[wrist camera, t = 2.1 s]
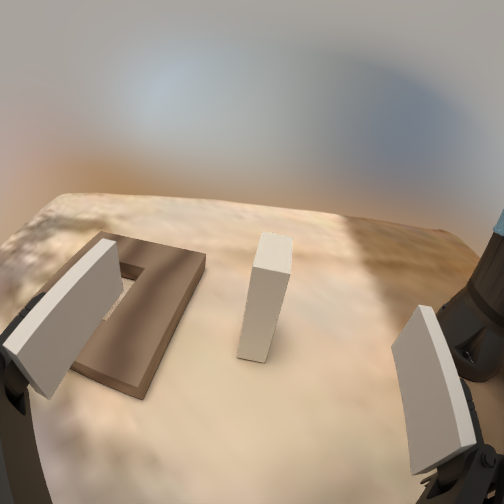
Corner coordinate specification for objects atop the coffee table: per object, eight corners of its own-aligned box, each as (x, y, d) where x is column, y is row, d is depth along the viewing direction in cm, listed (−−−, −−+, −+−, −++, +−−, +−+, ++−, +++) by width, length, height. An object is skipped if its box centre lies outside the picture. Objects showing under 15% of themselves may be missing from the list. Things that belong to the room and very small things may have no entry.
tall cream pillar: (270, 323, 33) (293, 237, 27) (264, 362, 28) (290, 274, 22) (246, 318, 34) (262, 230, 27) (236, 357, 29) (252, 266, 22)
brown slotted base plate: (205, 268, 41) (205, 253, 39) (142, 399, 22) (137, 387, 21) (102, 244, 42) (100, 231, 41) (17, 337, 23) (9, 323, 22)
